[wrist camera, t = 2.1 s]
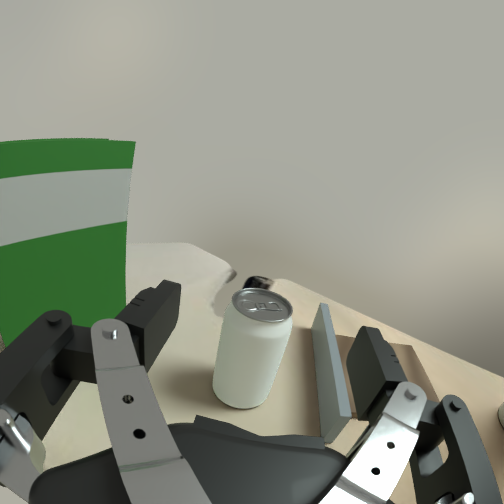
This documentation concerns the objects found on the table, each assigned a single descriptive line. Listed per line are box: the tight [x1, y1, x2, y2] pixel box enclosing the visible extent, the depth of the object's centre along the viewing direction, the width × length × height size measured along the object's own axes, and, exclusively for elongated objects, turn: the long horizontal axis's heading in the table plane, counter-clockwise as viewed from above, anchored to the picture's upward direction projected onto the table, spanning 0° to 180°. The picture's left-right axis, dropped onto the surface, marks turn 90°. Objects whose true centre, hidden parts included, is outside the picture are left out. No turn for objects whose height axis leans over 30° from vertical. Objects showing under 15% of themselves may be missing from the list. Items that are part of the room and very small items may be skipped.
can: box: [212, 288, 293, 409], centre depth 27 cm, size 6×6×12 cm
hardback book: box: [0, 138, 136, 347], centre depth 25 cm, size 18×7×24 cm, turn 148°
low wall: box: [311, 303, 352, 443], centre depth 33 cm, size 1×22×5 cm, turn 174°
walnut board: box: [335, 335, 440, 418], centre depth 34 cm, size 16×16×1 cm
